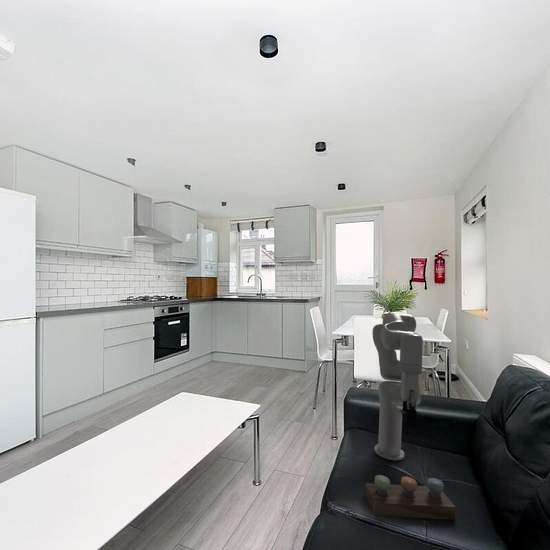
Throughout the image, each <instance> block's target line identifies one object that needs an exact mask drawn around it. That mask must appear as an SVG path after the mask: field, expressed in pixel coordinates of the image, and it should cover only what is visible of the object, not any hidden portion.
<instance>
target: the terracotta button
mask: <svg viewBox="0 0 550 550" xmlns="http://www.w3.org/2000/svg"><path fill="white" fill-rule="evenodd" d="M400 479H401V480H400V485H401V486H402V488H403V495H404V496H405V498H414V491H416V489H417V486H418V483H417V481H416V479H414V478H413V477H410V476H402V477H401V478H400Z"/></svg>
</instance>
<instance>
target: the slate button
mask: <svg viewBox="0 0 550 550" xmlns="http://www.w3.org/2000/svg"><path fill="white" fill-rule="evenodd" d="M426 483H427V485H426V486H427V487H428V488H429V489H430V496H431V498H432V499H440V495H441V493H442V492H443V493H444V482H443V481H441V479H438V478H435V477H428V479H427V482H426Z"/></svg>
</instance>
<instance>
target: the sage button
mask: <svg viewBox="0 0 550 550" xmlns="http://www.w3.org/2000/svg"><path fill="white" fill-rule="evenodd" d="M374 484H375V486H376V487H377V494H378V496H382V497H387V490H388V489H389V488H390V485H391V481H390V478H388V477H387V476H385V475H381V474H378V475H375V476H374Z"/></svg>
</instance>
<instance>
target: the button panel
mask: <svg viewBox="0 0 550 550" xmlns="http://www.w3.org/2000/svg"><path fill="white" fill-rule="evenodd" d="M364 486H365V487H364V497H365V498H366V501H367V503H368V505H369V507H370V509H371V512H372V513H373V515H374V516H377V517H393V518H395V517H397V518H411V519H413V518H415V519H435V520H436V519H437V520H451V521H452V520H456V506H455V504H454V503H453V502H452V501H451V500H450V498H449V497H448V496H447V495H446V494H445V492H444V491H443V492H442V493H441V495H440V499H432V498H431V496H430V489H429V488H428V487H427V485H426V486H425V485H417V489H416V491H414V498H405V496H404V495H403V488H402V486H401V484H390V488H389V489H388V490H387V497H382V496H378V494H377V487H376V486H375V483H365V485H364Z"/></svg>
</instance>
